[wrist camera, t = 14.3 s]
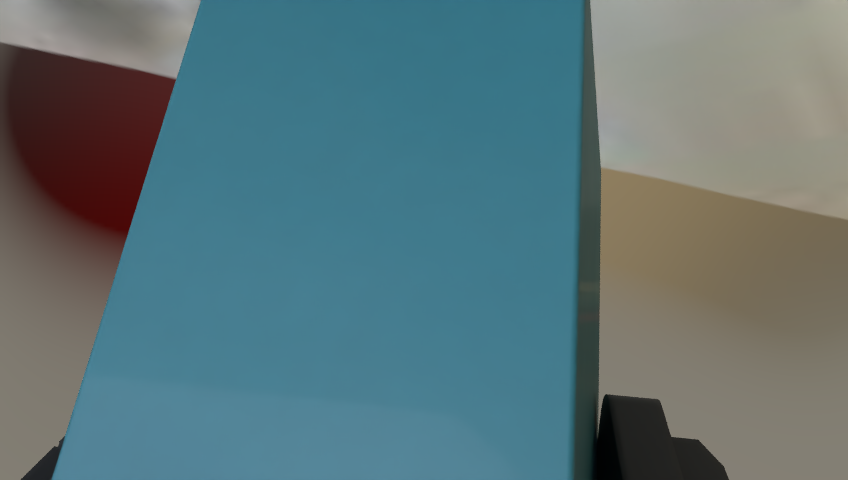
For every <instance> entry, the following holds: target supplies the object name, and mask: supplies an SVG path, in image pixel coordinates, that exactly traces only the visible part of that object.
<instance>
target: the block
mask: <svg viewBox="0 0 848 480" xmlns="http://www.w3.org/2000/svg"><path fill="white" fill-rule="evenodd" d="M600 205H601V166H600V150H599V135H598V119H597V103H596V88H595V72H594V56H593V41H592V25H591V9H590V0H201V2H200V6H199V9H198V12H197V15H196V18H195V22H194V25H193V28H192V31H191V34H190V38H189V41H188V44H187V47H186V50H185V54H184V57H183V60H182V63H181V66H180V70H179V73H178V76H177V79H176V82H175V86H174V89H173V92H172V95H171V98H170V102H169V105H168V108H167V112H166V115H165V118H164V121H163V124H162V127H161V130H160V134H159V137H158V140H157V143H156V147H155V150H154V153H153V156H152V159H151V163H150V166H149V169H148V172H147V175H146V179H145V182H144V185H143V188H142V191H141V195H140V198H139V201H138V204H137V208H136V211H135V214H134V217H133V220H132V224H131V227H130V230H129V233H128V236H127V239H126V243H125V246H124V249H123V253H122V256H121V259H120V262H119V265H118V268H117V271H116V275H115V278H114V281H113V285H112V288H111V291H110V294H109V297H108V300H107V304H106V307H105V310H104V313H103V316H102V320H101V323H100V326H99V329H98V332H97V336H96V339H95V342H94V345H93V348H92V352H91V355H90V358H89V361H88V364H87V368H86V371H85V374H84V377H83V380H82V384H81V387H80V390H79V393H78V397H77V400H76V403H75V406H74V409H73V412H72V416H71V419H70V422H69V425H68V428H67V432H66V435H65V438H64V441H63V444H62V448H61V451H60V454H59V457H58V460H57V464H56V467H55V470H54V473H53V476H52V480H597V439H598V395H599V394H598V393H599V303H600V214H601V213H600V211H601V206H600Z"/></svg>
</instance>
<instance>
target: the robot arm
mask: <svg viewBox="0 0 848 480" xmlns="http://www.w3.org/2000/svg"><path fill="white" fill-rule="evenodd" d="M64 438H65V436H64V437H63V439H62V440H60V441H59V446H58V447H55V446H54V447H53V448H52V449H51V450H50V451H49V452H48V453H47V454H46V455H45V456H44V457H43V458H42V459H41V460H40V461H39V462H38V463H37V464H36V465H35V466H34V467H33V468H32V469H31V470H30V471H29V472H28V473H27V474H26V475H25V476H24V477H23V478H22V479H21V480H52V476H53V473H54V470H55V467H56V464H57V460H58V457H59V454H60V451H61V448H62V444H63V441H64ZM597 480H729V479H728V476H727V474H726V471H725V468H724V466H723V465H722V464H721V463H720V462H719V461H718V460H717V459H716V458H715V457H714V456H713V455H712V454H711V453H710V452H709V451H708V450H707V449H706V447H705V446H704V445H703V444H702V443H701V442H700V441H699V440H695V439H686V438H676V437H671V435H670V432H669V429H668V426H667V422H666V418H665V415H664V412H663V409H662V405H661V403H660V401H659V400H658V399H649V398H638V397H628V396H618V395H617V396H616V395H607V394H606V395H605V396H604V399H603V403H602V408H601V416H600V424H599V431H598V439H597Z"/></svg>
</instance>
